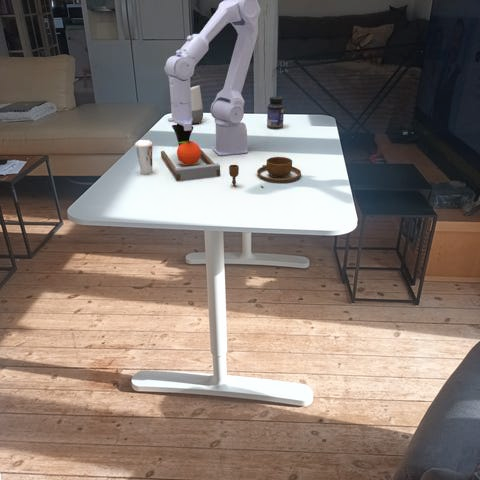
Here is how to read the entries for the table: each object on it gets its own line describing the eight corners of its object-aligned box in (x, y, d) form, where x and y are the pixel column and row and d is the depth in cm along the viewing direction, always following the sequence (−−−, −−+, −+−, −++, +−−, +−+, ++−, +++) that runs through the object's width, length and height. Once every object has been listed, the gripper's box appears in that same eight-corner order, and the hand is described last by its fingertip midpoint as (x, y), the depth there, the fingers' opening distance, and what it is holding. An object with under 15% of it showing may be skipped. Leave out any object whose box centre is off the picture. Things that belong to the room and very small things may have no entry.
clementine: (172, 168, 126) (170, 144, 123) (175, 161, 132) (173, 137, 129) (200, 168, 126) (199, 144, 123) (202, 161, 132) (201, 137, 129)
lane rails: (199, 153, 139) (198, 147, 138) (220, 176, 120) (220, 169, 120) (161, 157, 135) (160, 151, 134) (176, 181, 117) (176, 174, 116)
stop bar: (218, 173, 122) (217, 163, 121) (220, 176, 120) (220, 165, 119) (175, 178, 119) (174, 168, 117) (176, 181, 117) (176, 170, 115)
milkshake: (159, 170, 125) (156, 134, 120) (149, 176, 120) (146, 139, 116) (145, 168, 126) (141, 133, 121) (135, 174, 122) (131, 138, 117)
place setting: (306, 189, 114) (308, 167, 111) (228, 191, 112) (228, 168, 110) (294, 167, 129) (295, 147, 126) (226, 168, 128) (225, 148, 125)
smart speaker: (182, 119, 180) (180, 83, 173) (205, 120, 179) (204, 84, 172) (177, 125, 171) (175, 87, 165) (201, 126, 171) (199, 88, 164)
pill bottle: (283, 129, 166) (285, 99, 161) (267, 129, 166) (268, 99, 161) (282, 125, 171) (283, 96, 166) (266, 125, 171) (267, 96, 166)
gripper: (162, 98, 129) (165, 144, 136) (172, 108, 117) (175, 157, 124) (185, 97, 131) (188, 142, 138) (198, 106, 119) (200, 155, 126)
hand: (183, 149), depth 131 cm, fingers closed
